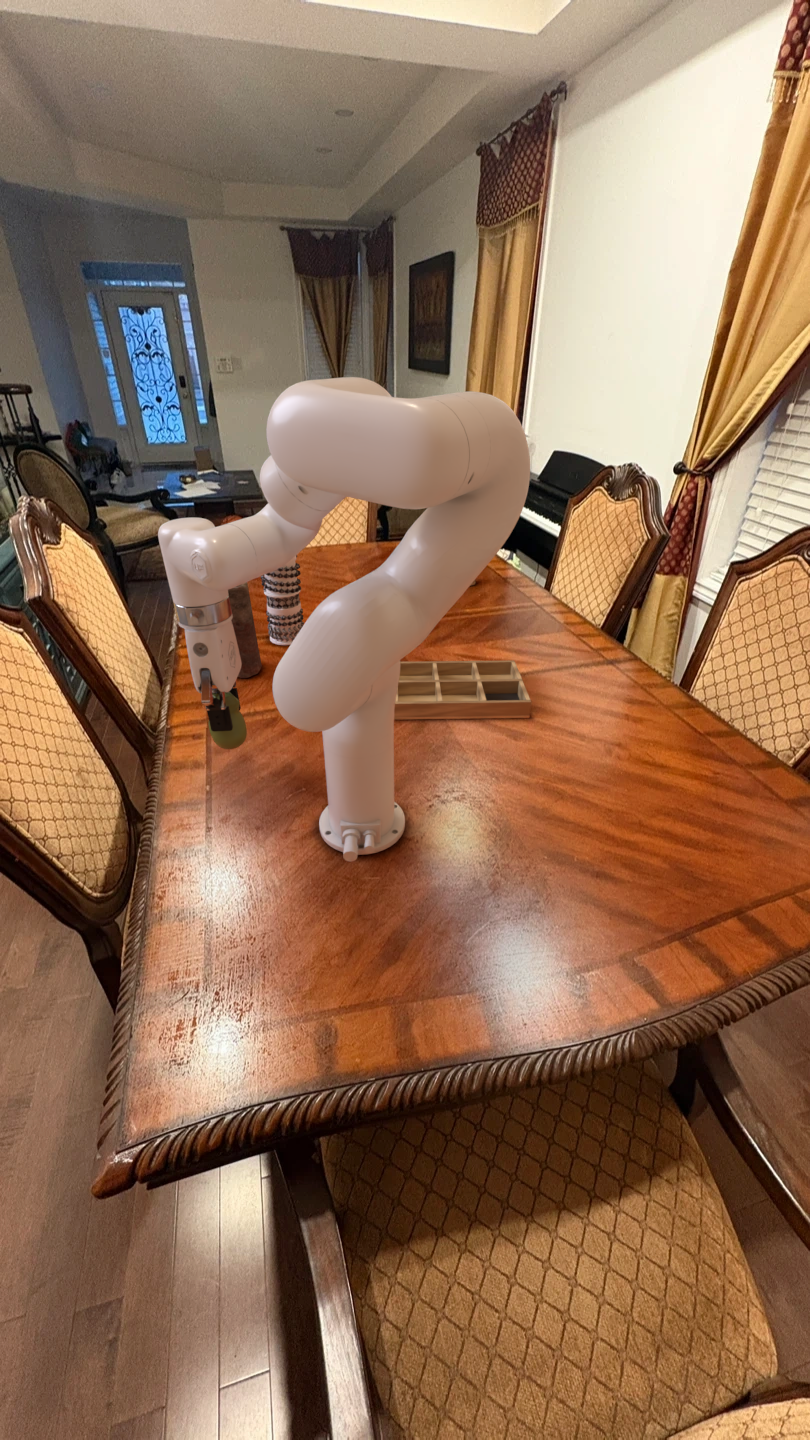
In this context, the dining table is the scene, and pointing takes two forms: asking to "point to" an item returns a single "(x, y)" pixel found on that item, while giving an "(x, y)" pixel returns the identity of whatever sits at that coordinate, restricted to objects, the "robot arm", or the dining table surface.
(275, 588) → the decorative candle
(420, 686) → the wooden compartment tray
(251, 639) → the candle
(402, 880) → the dining table surface
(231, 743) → the pear
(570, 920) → the dining table surface
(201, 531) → the robot arm
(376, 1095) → the dining table surface
